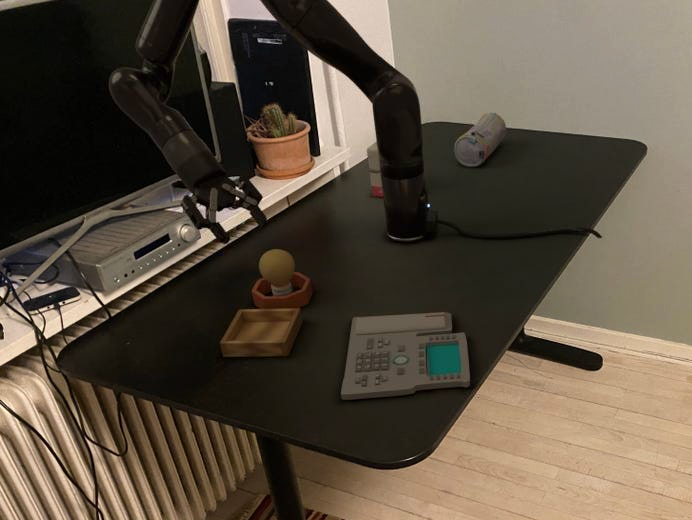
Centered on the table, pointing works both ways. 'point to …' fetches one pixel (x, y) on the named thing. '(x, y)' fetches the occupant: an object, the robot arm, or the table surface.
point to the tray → (261, 332)
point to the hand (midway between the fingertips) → (246, 233)
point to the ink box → (374, 170)
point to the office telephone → (404, 355)
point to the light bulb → (278, 271)
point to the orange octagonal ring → (283, 302)
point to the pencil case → (480, 140)
